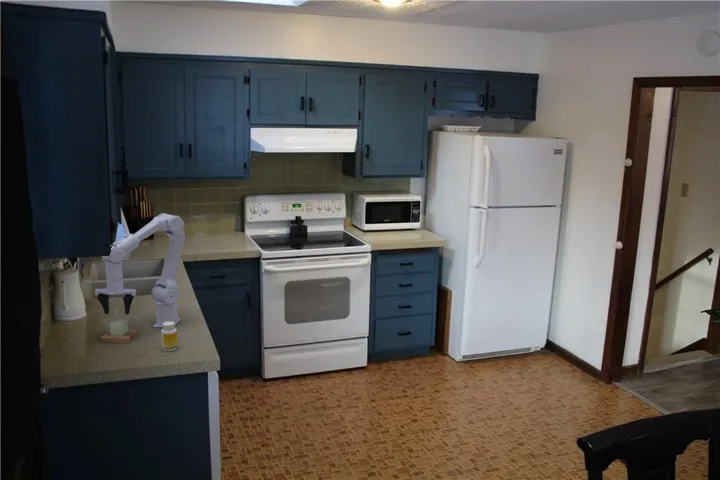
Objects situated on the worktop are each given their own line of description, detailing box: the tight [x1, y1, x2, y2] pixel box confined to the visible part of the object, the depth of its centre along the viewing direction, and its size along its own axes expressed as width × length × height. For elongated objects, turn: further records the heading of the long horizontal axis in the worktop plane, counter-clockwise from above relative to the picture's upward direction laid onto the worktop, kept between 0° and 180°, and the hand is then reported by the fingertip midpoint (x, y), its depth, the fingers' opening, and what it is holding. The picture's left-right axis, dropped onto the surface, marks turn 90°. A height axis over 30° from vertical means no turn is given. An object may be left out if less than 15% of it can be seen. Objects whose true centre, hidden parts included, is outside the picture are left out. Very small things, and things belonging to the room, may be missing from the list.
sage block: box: [109, 319, 129, 336], centre depth 232 cm, size 4×4×4 cm
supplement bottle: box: [160, 322, 179, 352], centre depth 222 cm, size 5×5×10 cm
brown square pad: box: [100, 328, 139, 345], centre depth 233 cm, size 10×10×2 cm
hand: (117, 313), depth 232 cm, fingers open, 7 cm apart
